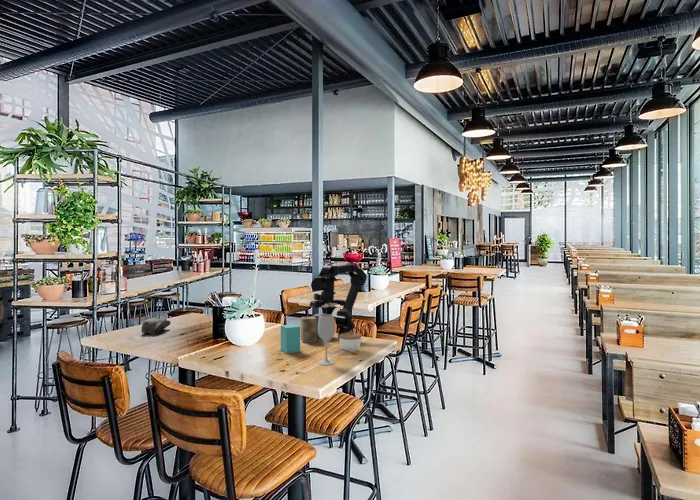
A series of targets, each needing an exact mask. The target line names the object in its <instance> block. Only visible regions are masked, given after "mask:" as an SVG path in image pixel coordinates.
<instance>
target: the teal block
mask: <svg viewBox="0 0 700 500" xmlns="http://www.w3.org/2000/svg"><path fill="white" fill-rule="evenodd" d="M280 351H281V352H282V353H285V354H293V353H300V352H301V325H297V324H296V323H291V324H284V325H283V324H282V325H280Z"/></svg>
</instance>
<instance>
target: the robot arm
mask: <svg viewBox="0 0 700 500" xmlns="http://www.w3.org/2000/svg"><path fill="white" fill-rule="evenodd" d="M343 273H348V276H349V277H350V287H349V291H348V293H347V296H346V299H345V300H344V299H340V298H339V299H335V295H336V291H335V282H338V279H337V278H336V276H338V275H339V274H343ZM367 278H368V276H367V274H366V272H365V271H364V270H363V269H362V268H360V267H359V266H358V265H357V264H356V263H348V264H341V265H331V264H330V265H329V264H327V265H322V268H321V269H320V272H319V273H318V275H317V276H314V277H313V279H312V281H311V283H310V288H311V290H313V292H320V291H321V292H320V294H319V293H314V295H313V300H311V301H310V302H309V307H312V308H316V309H317V308H321V309H322V311H323V314H331V315H333V313H334V311H335V309H337V305H339V306H341V307H342V309H341V310H337V312H336V315H335V318H334V323H335V327H336V328H337V329H338V331H337V332H338V333H337V335H338V336H337V338H338V339H339V340H340V337H339V335H340V334H342V333H349V331H351V333H353V332H352V331H353V330H354V329H355V326H356V324H355V323H354V322H353V314H352V311H353V308H354V305H355V303H356V300H357V297H358V295H359V291H360V289H361V288H362V287H363V286H364V285H365V283H366V281H367V280H368V279H367Z"/></svg>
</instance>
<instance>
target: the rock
mask: <svg viewBox="0 0 700 500" xmlns="http://www.w3.org/2000/svg"><path fill="white" fill-rule="evenodd" d="M170 325H171V321H170V320H168V319H167V317H161V318H159V317H151V318H148V319H146V320H144V321H143V323H142V324H141V330H140V331H141V333H142V334H147V333H148V334H150V335H155V334H157V333H159V332H162V331H163V330H165V329H166V328H168V327H169V326H170ZM156 332H157V333H156ZM154 333H155V334H154Z"/></svg>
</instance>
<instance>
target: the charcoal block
mask: <svg viewBox="0 0 700 500" xmlns="http://www.w3.org/2000/svg"><path fill="white" fill-rule="evenodd" d="M322 314H323V313H316V314H313V315H312V316H314V317H315V318H316V339H321V338H320V337H319V335H318V321H319V316H320V315H322Z"/></svg>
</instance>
